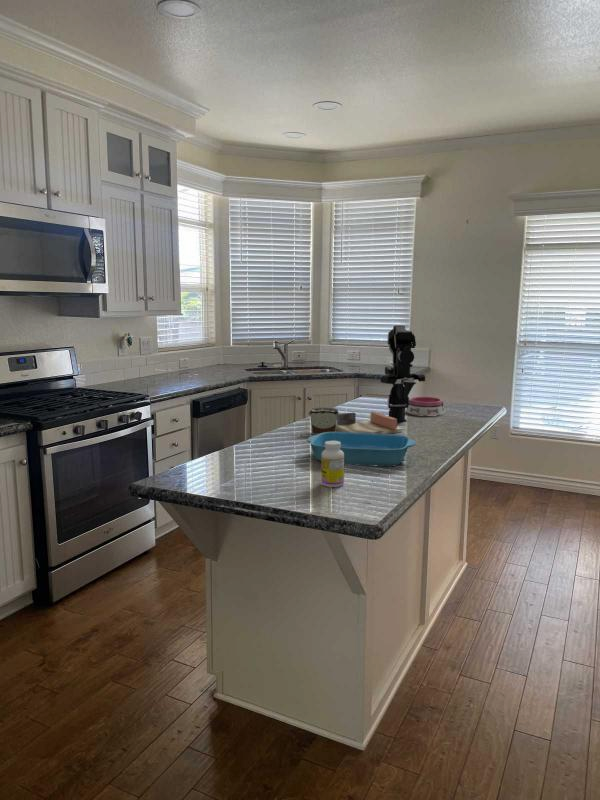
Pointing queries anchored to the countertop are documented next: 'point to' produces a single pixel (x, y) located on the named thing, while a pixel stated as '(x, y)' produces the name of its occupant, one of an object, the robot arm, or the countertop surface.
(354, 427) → the latch board
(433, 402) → the dog bowl
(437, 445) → the countertop surface
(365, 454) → the casserole dish
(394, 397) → the robot arm
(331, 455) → the supplement bottle
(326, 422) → the food container
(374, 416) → the latch bar
